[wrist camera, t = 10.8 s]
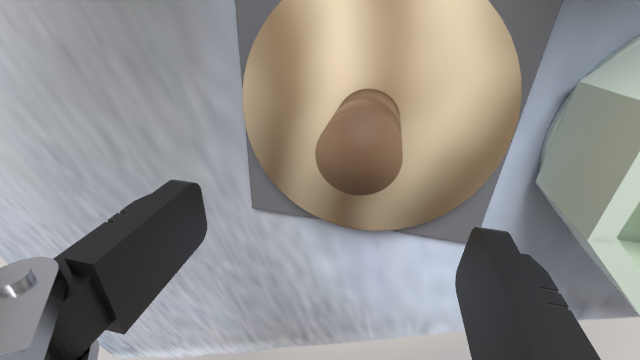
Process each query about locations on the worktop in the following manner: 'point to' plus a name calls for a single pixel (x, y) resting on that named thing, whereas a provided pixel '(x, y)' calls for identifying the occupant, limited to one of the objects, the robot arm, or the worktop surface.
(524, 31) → the rubber mat
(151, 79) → the worktop surface
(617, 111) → the green bowl
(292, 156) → the oak lid
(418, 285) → the worktop surface
